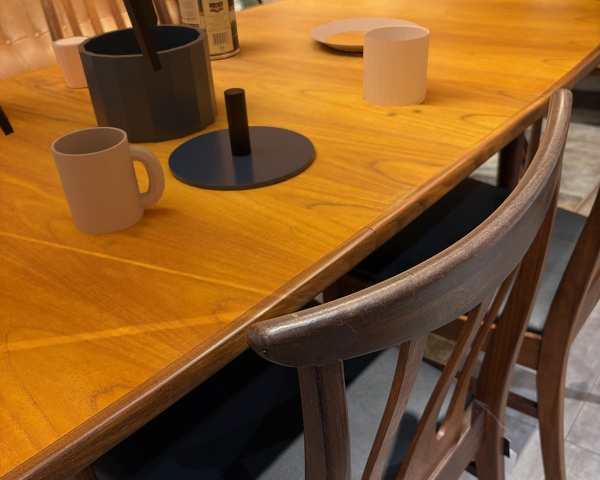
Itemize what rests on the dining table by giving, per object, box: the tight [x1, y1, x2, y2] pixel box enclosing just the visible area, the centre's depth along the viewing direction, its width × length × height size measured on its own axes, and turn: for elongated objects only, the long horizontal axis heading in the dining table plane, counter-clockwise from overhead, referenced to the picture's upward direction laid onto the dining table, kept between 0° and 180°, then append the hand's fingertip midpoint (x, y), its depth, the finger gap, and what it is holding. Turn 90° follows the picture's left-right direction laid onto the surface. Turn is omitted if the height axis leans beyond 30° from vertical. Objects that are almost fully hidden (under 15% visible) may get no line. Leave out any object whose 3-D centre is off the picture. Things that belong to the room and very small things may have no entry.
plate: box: [309, 17, 420, 53], centre depth 116 cm, size 21×21×2 cm
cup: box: [50, 126, 166, 235], centre depth 62 cm, size 7×10×9 cm
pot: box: [77, 23, 219, 145], centre depth 84 cm, size 17×17×12 cm
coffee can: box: [177, 0, 241, 61], centre depth 113 cm, size 10×10×14 cm
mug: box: [362, 25, 430, 108], centre depth 89 cm, size 12×9×9 cm
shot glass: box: [50, 35, 91, 89], centre depth 104 cm, size 7×7×7 cm
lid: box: [167, 87, 316, 191], centre depth 73 cm, size 18×18×9 cm
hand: (81, 94), depth 53 cm, fingers open, 13 cm apart
